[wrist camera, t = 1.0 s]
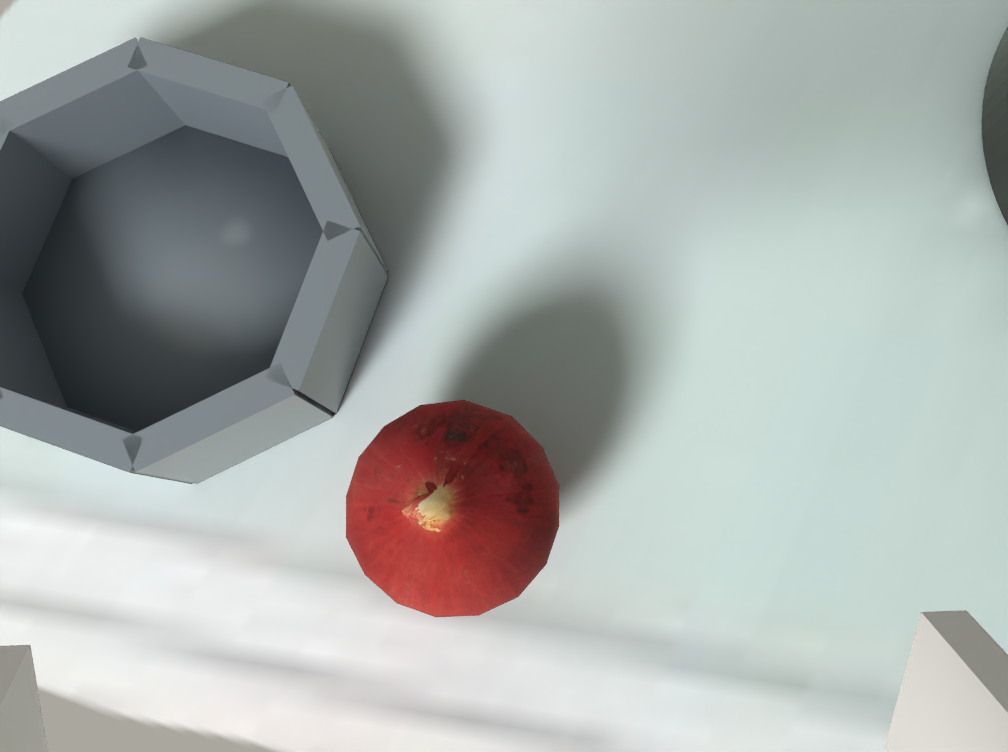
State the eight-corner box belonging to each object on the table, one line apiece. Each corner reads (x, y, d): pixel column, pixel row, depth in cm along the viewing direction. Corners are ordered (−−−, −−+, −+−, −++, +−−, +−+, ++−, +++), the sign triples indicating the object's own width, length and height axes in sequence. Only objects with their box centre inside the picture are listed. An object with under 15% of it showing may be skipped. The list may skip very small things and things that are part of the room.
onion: (411, 396, 31) (360, 343, 23) (583, 453, 30) (592, 418, 22) (348, 572, 30) (272, 579, 22) (524, 635, 29) (511, 666, 21)
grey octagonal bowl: (425, 177, 32) (403, 116, 27) (296, 521, 30) (250, 516, 26) (102, 77, 33) (32, 4, 29) (-40, 400, 31) (-139, 376, 27)
